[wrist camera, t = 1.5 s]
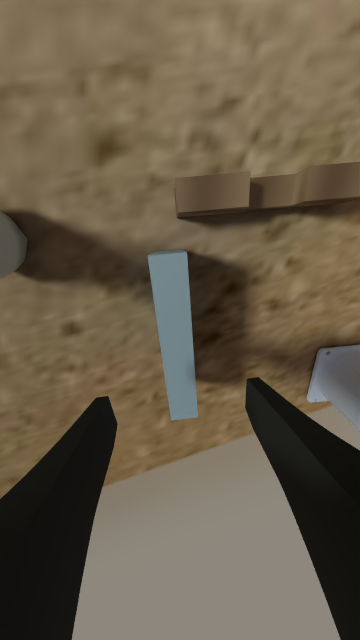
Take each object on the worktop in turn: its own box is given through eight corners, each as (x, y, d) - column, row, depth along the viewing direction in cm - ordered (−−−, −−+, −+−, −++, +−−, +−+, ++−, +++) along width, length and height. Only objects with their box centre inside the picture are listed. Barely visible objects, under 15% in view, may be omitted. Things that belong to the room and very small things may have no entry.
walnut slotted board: (344, 175, 15) (383, 159, 12) (338, 203, 16) (374, 195, 13) (174, 190, 15) (175, 178, 12) (176, 218, 16) (178, 212, 13)
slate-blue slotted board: (181, 249, 17) (186, 252, 11) (191, 373, 22) (197, 417, 17) (155, 251, 17) (147, 255, 11) (171, 376, 22) (171, 420, 17)
